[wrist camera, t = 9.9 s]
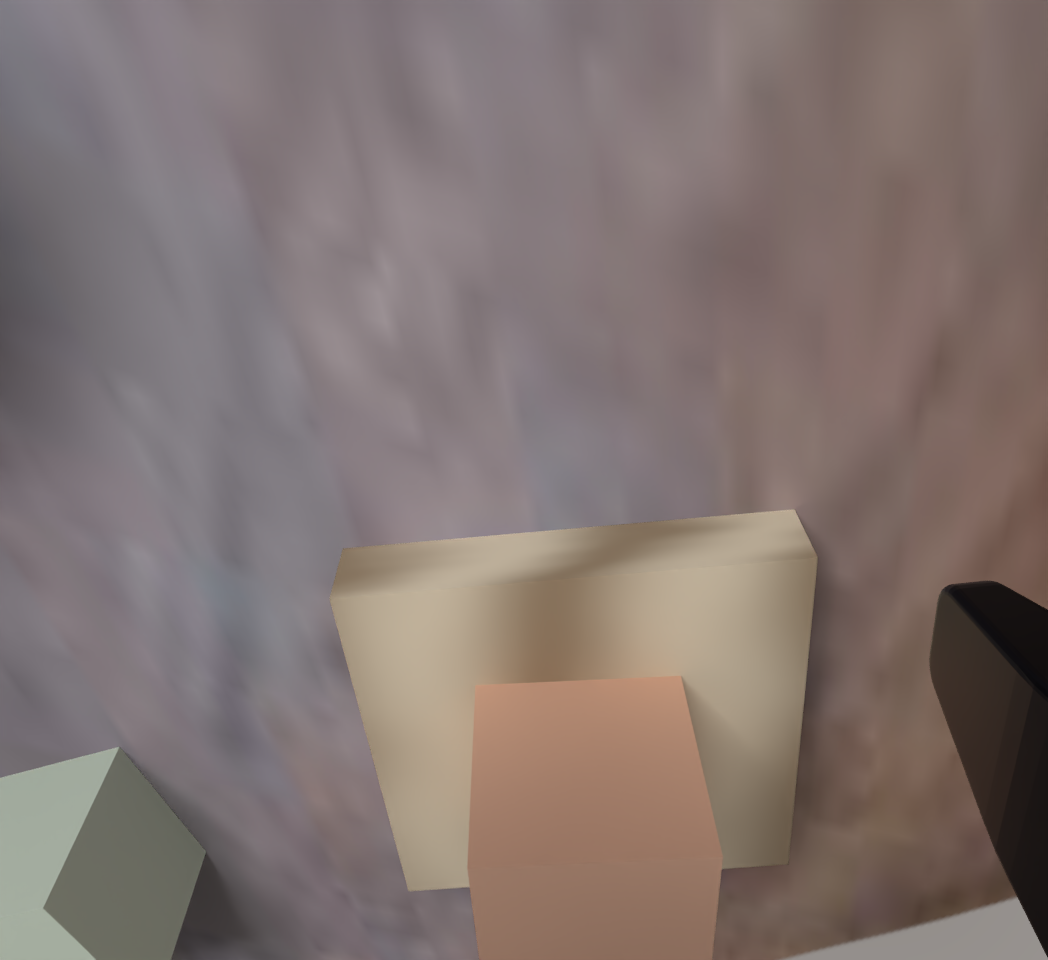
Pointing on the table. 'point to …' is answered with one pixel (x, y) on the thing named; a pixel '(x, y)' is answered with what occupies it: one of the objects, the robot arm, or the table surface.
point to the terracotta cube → (590, 823)
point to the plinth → (582, 659)
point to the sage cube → (92, 863)
